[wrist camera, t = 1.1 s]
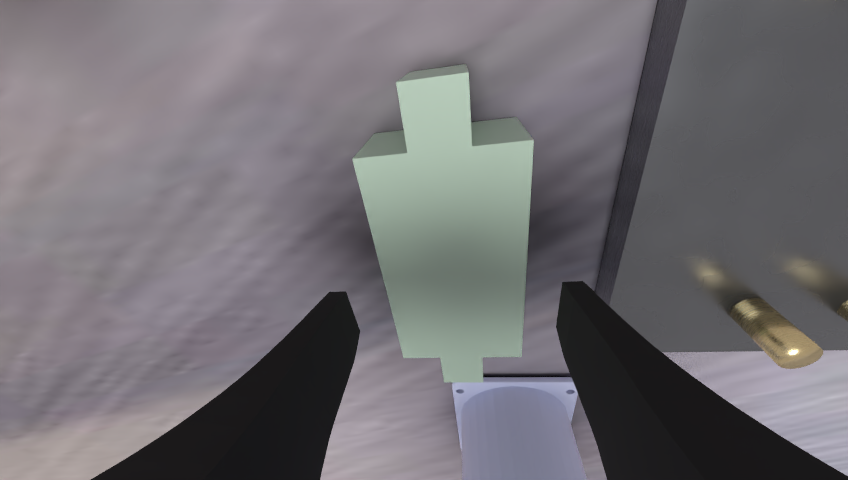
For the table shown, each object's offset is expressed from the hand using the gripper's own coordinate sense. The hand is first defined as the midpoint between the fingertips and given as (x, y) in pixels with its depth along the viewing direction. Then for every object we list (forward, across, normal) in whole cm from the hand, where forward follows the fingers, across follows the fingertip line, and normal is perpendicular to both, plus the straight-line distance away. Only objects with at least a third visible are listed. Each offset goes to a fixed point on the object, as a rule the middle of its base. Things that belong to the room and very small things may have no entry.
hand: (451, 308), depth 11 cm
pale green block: (+5, 0, 0) cm, 5 cm away
